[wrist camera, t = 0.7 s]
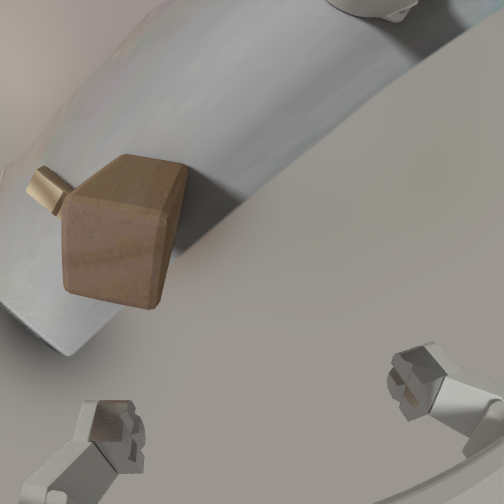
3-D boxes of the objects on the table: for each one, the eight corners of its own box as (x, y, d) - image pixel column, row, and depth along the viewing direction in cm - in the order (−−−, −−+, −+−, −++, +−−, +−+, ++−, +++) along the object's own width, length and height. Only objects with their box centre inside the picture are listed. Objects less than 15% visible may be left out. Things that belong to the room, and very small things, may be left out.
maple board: (43, 165, 40) (35, 169, 37) (149, 246, 48) (146, 254, 45) (33, 186, 41) (25, 191, 38) (135, 264, 49) (131, 272, 46)
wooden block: (177, 229, 47) (157, 315, 29) (113, 217, 45) (60, 295, 27) (190, 163, 43) (171, 216, 25) (121, 151, 41) (57, 196, 23)
